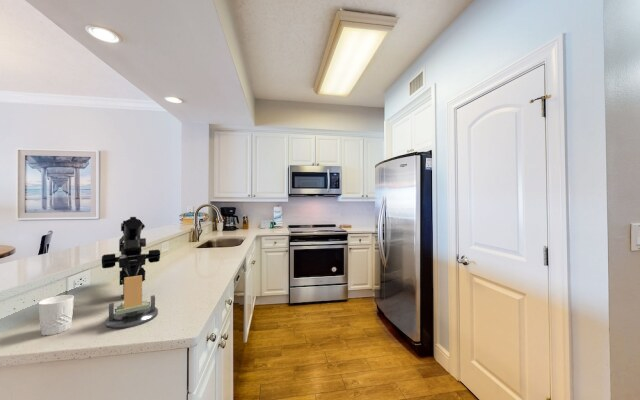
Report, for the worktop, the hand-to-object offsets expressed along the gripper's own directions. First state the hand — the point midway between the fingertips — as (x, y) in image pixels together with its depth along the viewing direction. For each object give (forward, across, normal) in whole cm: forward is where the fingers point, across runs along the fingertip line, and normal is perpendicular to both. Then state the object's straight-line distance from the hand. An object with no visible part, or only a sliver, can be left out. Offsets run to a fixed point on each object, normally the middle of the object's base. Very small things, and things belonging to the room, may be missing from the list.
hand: (132, 276), depth 96 cm
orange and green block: (+13, 0, -1) cm, 13 cm away
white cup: (+12, -20, +6) cm, 24 cm away
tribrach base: (+16, 0, +2) cm, 16 cm away
